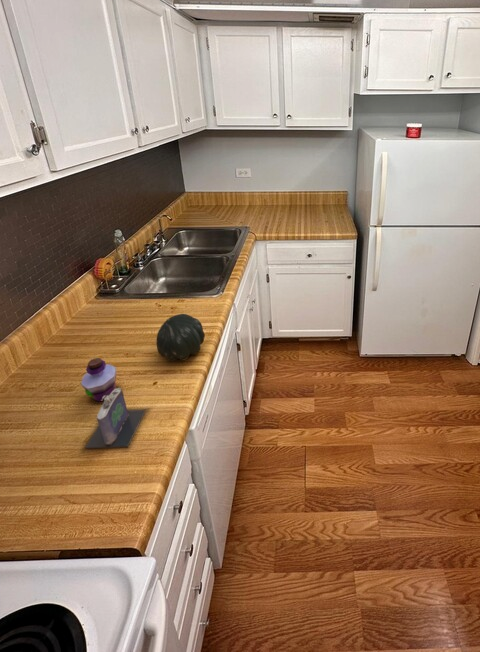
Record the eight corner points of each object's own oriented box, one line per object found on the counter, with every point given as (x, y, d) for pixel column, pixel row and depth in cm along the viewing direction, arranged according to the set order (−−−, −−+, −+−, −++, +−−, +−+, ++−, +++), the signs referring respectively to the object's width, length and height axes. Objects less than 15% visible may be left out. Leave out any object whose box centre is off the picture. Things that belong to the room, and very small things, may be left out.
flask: (113, 445, 80) (102, 413, 76) (100, 446, 80) (89, 413, 76) (131, 411, 88) (122, 381, 85) (119, 412, 88) (110, 381, 84)
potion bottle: (79, 406, 90) (67, 373, 86) (99, 381, 98) (89, 349, 94) (110, 407, 90) (99, 374, 86) (128, 382, 98) (119, 350, 94)
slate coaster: (85, 448, 80) (85, 447, 79) (107, 412, 89) (107, 411, 89) (127, 447, 80) (127, 446, 80) (145, 410, 89) (145, 409, 89)
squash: (213, 319, 117) (178, 296, 110) (211, 349, 104) (171, 326, 97) (185, 344, 119) (149, 324, 112) (180, 378, 105) (139, 357, 99)
